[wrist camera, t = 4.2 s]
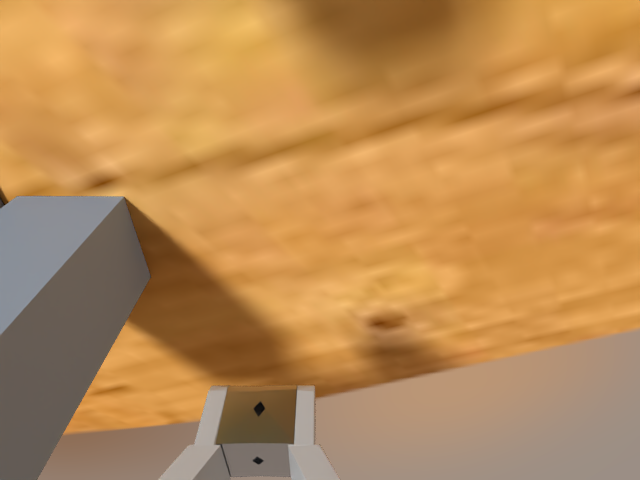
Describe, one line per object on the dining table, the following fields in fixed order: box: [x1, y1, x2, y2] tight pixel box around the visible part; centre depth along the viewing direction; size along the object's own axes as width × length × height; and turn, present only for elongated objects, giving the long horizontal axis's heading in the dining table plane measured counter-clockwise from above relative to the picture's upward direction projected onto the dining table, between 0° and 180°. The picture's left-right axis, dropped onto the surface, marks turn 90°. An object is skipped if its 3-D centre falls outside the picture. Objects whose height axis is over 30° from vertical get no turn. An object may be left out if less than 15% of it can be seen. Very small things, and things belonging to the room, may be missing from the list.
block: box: [0, 196, 151, 480], centre depth 13 cm, size 4×4×10 cm
